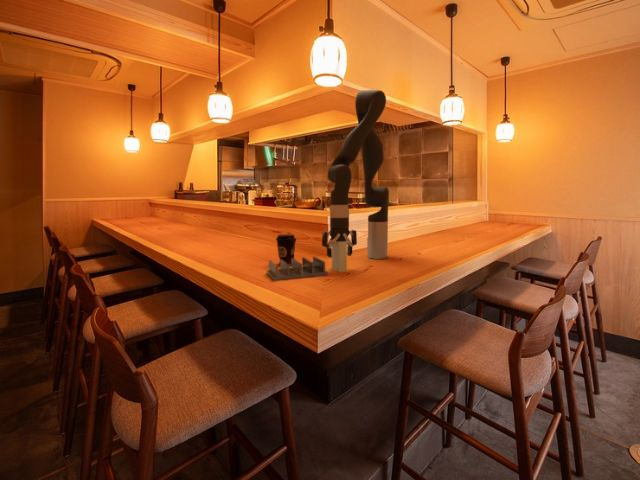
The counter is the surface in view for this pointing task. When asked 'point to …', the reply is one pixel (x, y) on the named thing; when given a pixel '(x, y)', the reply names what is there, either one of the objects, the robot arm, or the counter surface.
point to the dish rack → (297, 269)
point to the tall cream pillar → (339, 256)
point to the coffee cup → (286, 247)
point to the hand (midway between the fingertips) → (339, 256)
